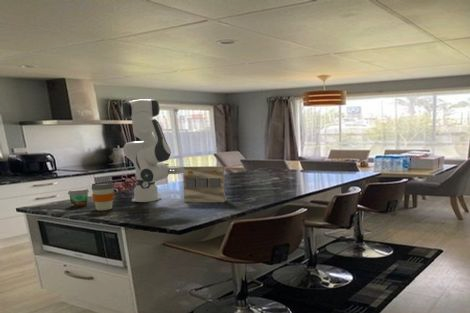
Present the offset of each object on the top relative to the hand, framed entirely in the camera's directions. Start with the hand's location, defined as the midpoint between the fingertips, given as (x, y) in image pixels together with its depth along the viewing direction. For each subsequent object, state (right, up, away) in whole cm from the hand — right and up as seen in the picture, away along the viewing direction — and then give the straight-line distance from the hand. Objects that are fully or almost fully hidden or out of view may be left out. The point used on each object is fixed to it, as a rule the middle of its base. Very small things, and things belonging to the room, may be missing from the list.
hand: (171, 168), depth 208 cm
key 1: (+10, -12, +19) cm, 24 cm away
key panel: (+18, -21, +19) cm, 34 cm away
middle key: (+17, -12, +16) cm, 26 cm away
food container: (-60, -24, +17) cm, 67 cm away
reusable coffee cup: (-41, -24, +6) cm, 48 cm away
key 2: (+25, -12, +15) cm, 31 cm away
